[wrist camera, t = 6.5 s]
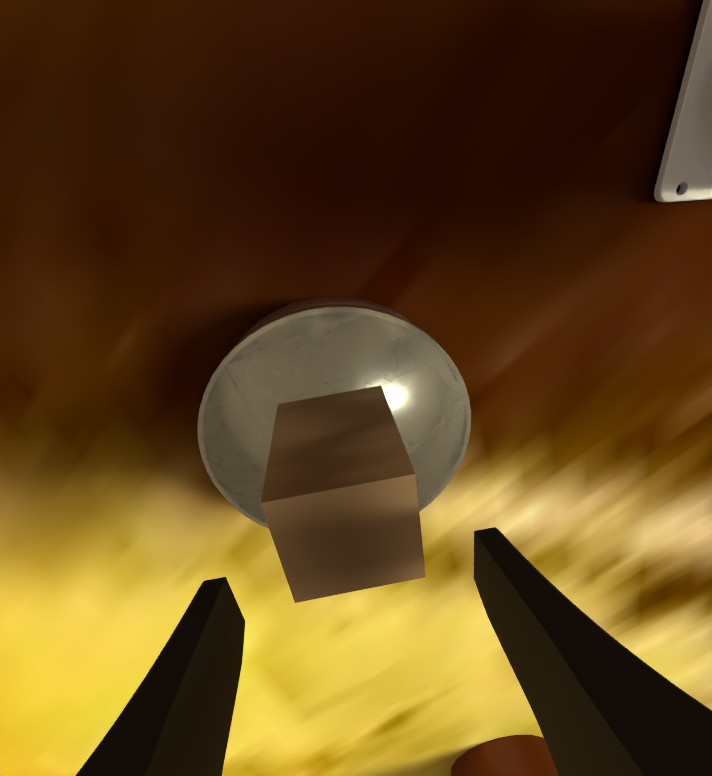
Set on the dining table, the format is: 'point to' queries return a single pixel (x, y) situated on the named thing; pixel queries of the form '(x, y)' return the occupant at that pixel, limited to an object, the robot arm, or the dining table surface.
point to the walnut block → (342, 495)
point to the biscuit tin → (331, 391)
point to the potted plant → (507, 758)
